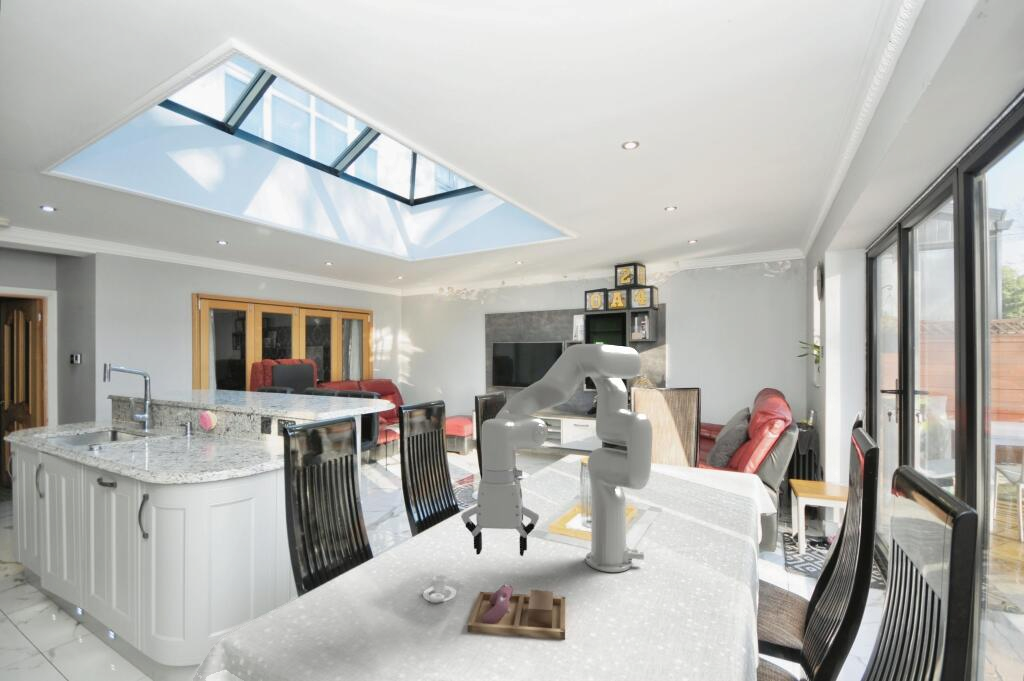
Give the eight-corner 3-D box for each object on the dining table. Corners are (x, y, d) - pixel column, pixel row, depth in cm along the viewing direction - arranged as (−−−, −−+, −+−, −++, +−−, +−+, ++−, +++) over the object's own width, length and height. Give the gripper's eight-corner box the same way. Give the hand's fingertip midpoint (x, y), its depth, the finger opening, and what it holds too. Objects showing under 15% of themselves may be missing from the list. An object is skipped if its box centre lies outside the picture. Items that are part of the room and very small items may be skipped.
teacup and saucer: (439, 609, 107) (439, 591, 107) (413, 599, 111) (413, 582, 111) (462, 593, 114) (463, 576, 114) (437, 584, 118) (438, 568, 118)
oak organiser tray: (565, 604, 108) (565, 596, 108) (565, 641, 94) (565, 632, 94) (479, 599, 110) (480, 591, 110) (467, 633, 96) (467, 625, 96)
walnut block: (552, 609, 105) (553, 591, 105) (551, 629, 97) (551, 610, 98) (530, 607, 106) (530, 589, 106) (527, 627, 98) (528, 608, 98)
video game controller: (498, 635, 98) (513, 606, 97) (479, 624, 98) (494, 594, 98) (505, 610, 107) (519, 583, 107) (488, 600, 108) (502, 573, 108)
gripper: (538, 471, 107) (540, 546, 106) (464, 470, 109) (465, 544, 108) (536, 480, 99) (538, 561, 99) (457, 479, 101) (458, 559, 101)
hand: (500, 552), depth 104 cm, fingers open, 9 cm apart
